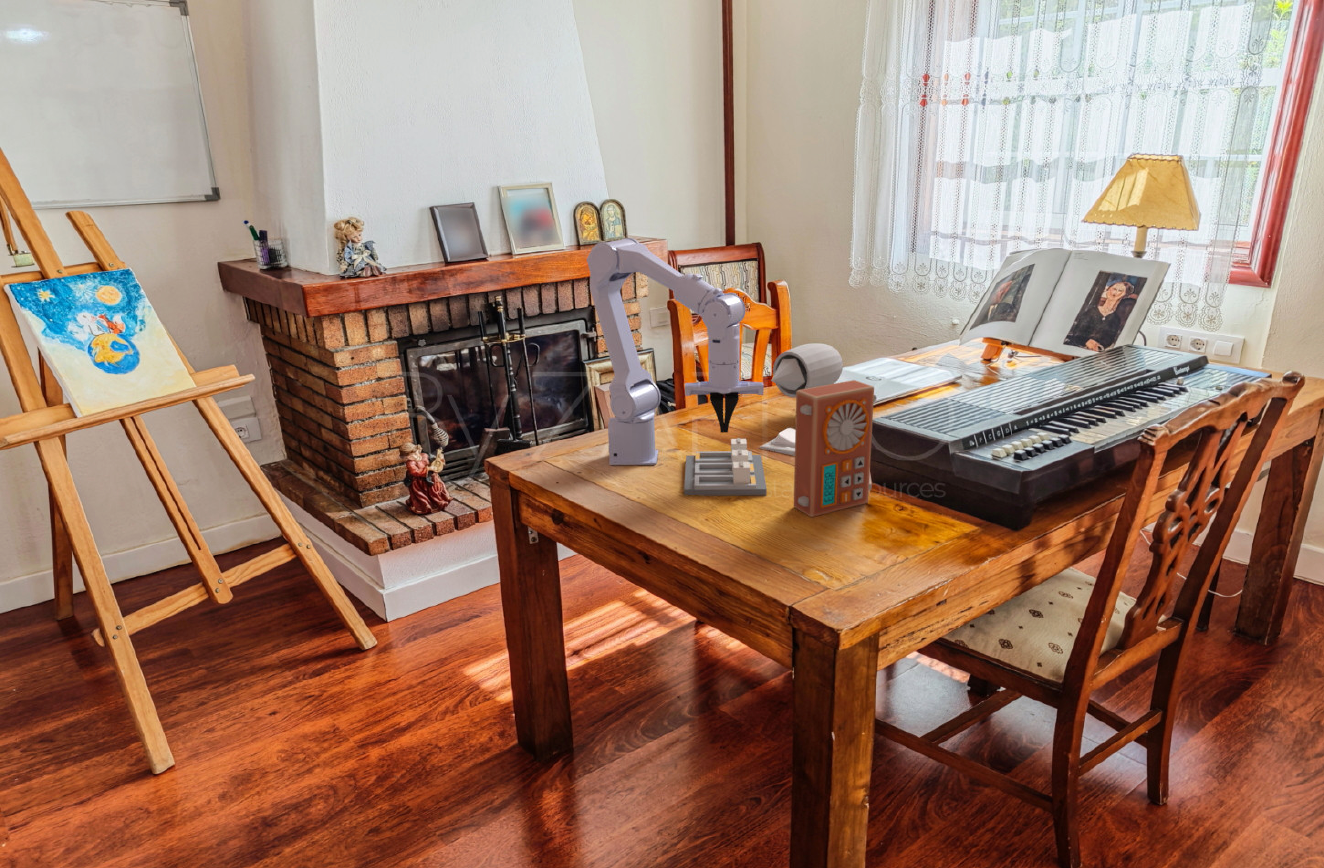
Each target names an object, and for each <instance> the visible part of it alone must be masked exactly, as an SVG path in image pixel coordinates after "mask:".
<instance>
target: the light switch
mask: <svg viewBox="0 0 1324 868" xmlns="http://www.w3.org/2000/svg"><path fill="white" fill-rule="evenodd" d="M795 430H796V428H792V427H787V428H786V429H784V430H782V431H780V432H779V433H778V434H777V436H776V437H775V438H773V439H772V440H770V441H768V442H766V443H764V444H762V445H760V446H759V447H758V449H760V450H764V449H766V450H765V451H769V450H770V452H774V451H775V452H774V453H780V454H785V455H789V456H793V457H795Z"/></svg>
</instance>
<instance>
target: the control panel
mask: <svg viewBox="0 0 1324 868" xmlns="http://www.w3.org/2000/svg"><path fill="white" fill-rule="evenodd" d="M876 401H877V395H876V394H875V387H874V386H872V385H870V384H867V383H864V382H861V381H858V380H856V379H852V380H847V381H843V382H835V383H834V384H830V385H824V386H819V387H813V388H808V389H802V390H797V391H796V398H795V456H794V470H793V471H794V472H793V473H794V475H793V476H794V478H793V479H794V480H793V508H795V509H797V510H798V511H800V512H802V513H804V514H805V515H808V516H809V517H810V518H814V517H818V516H822V515H825V514H829V513H832V512H833V513H834V512H838V511H841V510H844V509H848V508H849V509H850V508H853V507H856V506H860V505H863V504H868V502H869V495H870V493H869V491H870V490H872V484H871V483H870V474H871V473H870V471H871V454H872V437H873V435H872V434H873V421H874V419H873V416H874V403H875V402H876Z"/></svg>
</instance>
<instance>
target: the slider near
mask: <svg viewBox="0 0 1324 868" xmlns="http://www.w3.org/2000/svg"><path fill="white" fill-rule="evenodd" d="M733 484H750V462H743V461H740V462H733Z"/></svg>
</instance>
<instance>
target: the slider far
mask: <svg viewBox="0 0 1324 868" xmlns="http://www.w3.org/2000/svg"><path fill="white" fill-rule="evenodd" d="M738 449H741V450H748V443H747V439H746V438H740V437H737V438H731V439H730V451H731V459H732V450H738Z"/></svg>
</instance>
